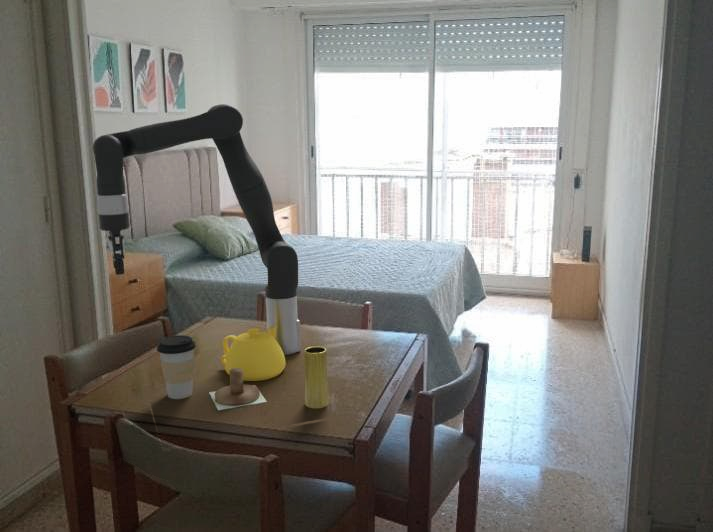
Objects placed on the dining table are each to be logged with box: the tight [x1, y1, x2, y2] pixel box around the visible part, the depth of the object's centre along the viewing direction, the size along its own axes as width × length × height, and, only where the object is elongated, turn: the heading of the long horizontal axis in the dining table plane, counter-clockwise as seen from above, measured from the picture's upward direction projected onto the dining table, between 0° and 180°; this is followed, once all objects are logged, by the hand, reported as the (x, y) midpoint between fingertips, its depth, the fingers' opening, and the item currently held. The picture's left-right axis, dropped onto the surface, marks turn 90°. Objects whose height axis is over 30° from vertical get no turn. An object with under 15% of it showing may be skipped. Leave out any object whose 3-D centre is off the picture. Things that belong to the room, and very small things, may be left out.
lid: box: [215, 368, 260, 406], centre depth 171 cm, size 11×11×7 cm
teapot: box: [220, 327, 286, 382], centre depth 190 cm, size 20×19×13 cm
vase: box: [303, 345, 330, 409], centre depth 165 cm, size 6×6×14 cm
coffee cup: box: [156, 335, 197, 400], centre depth 173 cm, size 9×9×15 cm
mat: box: [208, 384, 268, 411], centre depth 172 cm, size 12×12×1 cm
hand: (119, 271), depth 185 cm, fingers open, 8 cm apart
